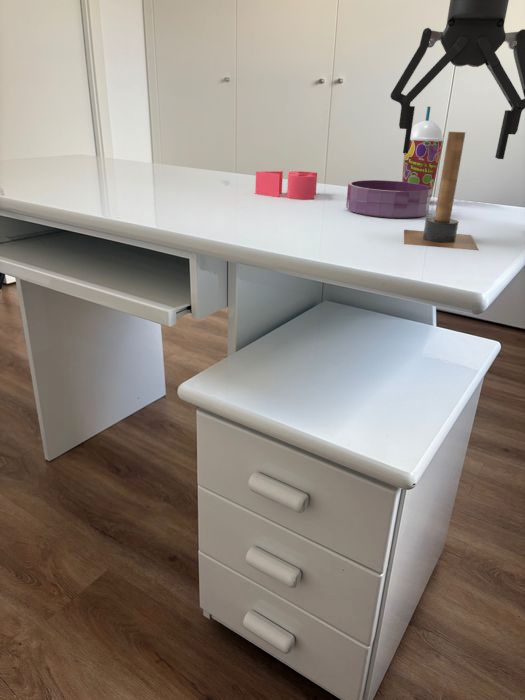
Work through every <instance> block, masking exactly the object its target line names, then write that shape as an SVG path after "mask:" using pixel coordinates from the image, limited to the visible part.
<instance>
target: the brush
mask: <svg viewBox="0 0 525 700" xmlns="http://www.w3.org/2000/svg"><path fill="white" fill-rule="evenodd" d="M465 138H466V132H465V131H448V134H447V140H446V144H445V145H446V146H445V151H444V158H443V164H442V169H441V175H440V176H441V177H440V183H439V188H438V194H437V200H436V206H435V212H434V213H435V214H434V217H427V218H425V222H424V229H423V231H424V234H423V238H424V239H425V240H428V241H432V242H440V243H451V242H454V241H455V239H456V234H458V227H459V220H456V219H454V218H452V212H453V206H454V201H455V195H456V190H457V189H456V188H457V183H458V177H459V172H460V168H461V167H460V166H461V161H462V154H463V150H464V143H465Z"/></svg>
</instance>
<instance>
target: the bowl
mask: <svg viewBox="0 0 525 700" xmlns="http://www.w3.org/2000/svg"><path fill="white" fill-rule="evenodd" d="M431 194H432V195H433V192H432V187H430V186H427V185H423V184H418V183H411V182H402V180H401V181H400V180H388V179H387V180H386V179H362V180H361V179H360V180H353V181H349V182H348V183H347V193H346V201H345V202H346V204H345V208H346V209H347V210H349V212H352V213H355V214H358V215H361V216H367V217H372V218H373V217H374V218H384V219H414V218H420V217H423V218H424V216H426V215H428V214H430V213H429V212H430V206H431V201H432V196H431Z"/></svg>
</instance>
